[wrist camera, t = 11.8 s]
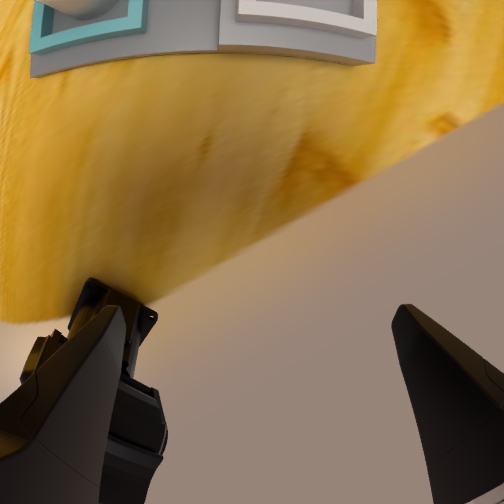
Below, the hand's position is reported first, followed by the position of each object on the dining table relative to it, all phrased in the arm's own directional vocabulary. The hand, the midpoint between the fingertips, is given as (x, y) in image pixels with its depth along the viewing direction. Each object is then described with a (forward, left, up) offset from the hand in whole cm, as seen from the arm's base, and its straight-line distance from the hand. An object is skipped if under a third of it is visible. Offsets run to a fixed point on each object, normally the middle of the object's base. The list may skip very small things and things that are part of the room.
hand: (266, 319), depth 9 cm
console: (+10, +10, -12) cm, 19 cm away
